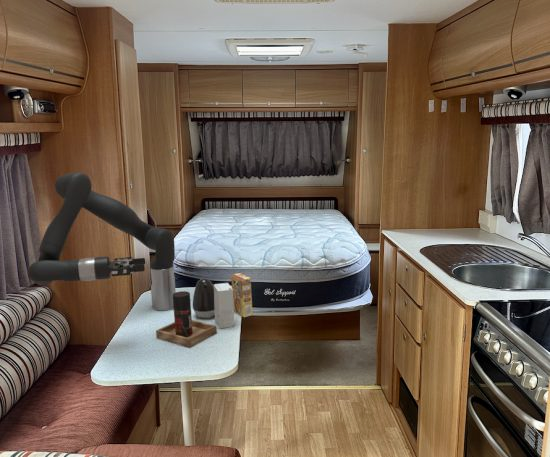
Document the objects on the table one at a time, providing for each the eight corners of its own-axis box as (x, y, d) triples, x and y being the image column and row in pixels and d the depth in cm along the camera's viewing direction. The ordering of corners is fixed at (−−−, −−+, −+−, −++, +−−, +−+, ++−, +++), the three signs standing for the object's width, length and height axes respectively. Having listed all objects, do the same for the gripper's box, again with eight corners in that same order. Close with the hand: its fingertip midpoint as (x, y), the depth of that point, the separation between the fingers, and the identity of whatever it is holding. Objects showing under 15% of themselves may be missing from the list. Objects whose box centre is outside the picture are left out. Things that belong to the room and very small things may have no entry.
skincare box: (214, 321, 193) (212, 284, 190) (230, 319, 195) (227, 281, 192) (219, 329, 185) (217, 290, 183) (235, 326, 187) (233, 288, 184)
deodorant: (177, 331, 183) (174, 291, 180) (194, 330, 183) (191, 291, 180) (174, 338, 177) (170, 297, 174) (191, 337, 177) (188, 296, 174)
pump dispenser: (195, 322, 193) (192, 284, 190) (191, 313, 203) (189, 276, 200) (221, 318, 196) (219, 280, 193) (217, 309, 206) (214, 273, 203)
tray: (156, 337, 180) (155, 330, 180) (184, 324, 191) (184, 317, 191) (189, 347, 171) (188, 339, 170) (216, 333, 182) (216, 325, 182)
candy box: (253, 315, 198) (251, 277, 195) (243, 317, 196) (241, 279, 193) (241, 309, 205) (239, 272, 202) (232, 311, 203) (230, 274, 200)
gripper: (90, 263, 161) (143, 258, 165) (96, 252, 175) (144, 248, 178) (93, 286, 163) (145, 281, 166) (98, 273, 177) (146, 269, 180)
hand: (144, 264), depth 172 cm, fingers open, 8 cm apart
